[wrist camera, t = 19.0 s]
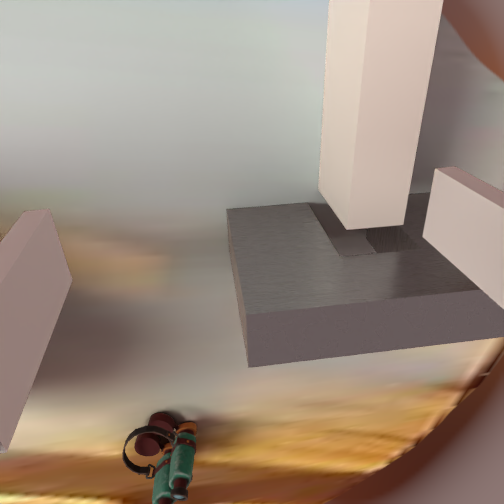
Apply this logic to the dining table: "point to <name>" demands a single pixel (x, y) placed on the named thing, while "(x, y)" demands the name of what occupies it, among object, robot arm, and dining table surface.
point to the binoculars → (166, 457)
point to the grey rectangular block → (374, 105)
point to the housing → (347, 288)
